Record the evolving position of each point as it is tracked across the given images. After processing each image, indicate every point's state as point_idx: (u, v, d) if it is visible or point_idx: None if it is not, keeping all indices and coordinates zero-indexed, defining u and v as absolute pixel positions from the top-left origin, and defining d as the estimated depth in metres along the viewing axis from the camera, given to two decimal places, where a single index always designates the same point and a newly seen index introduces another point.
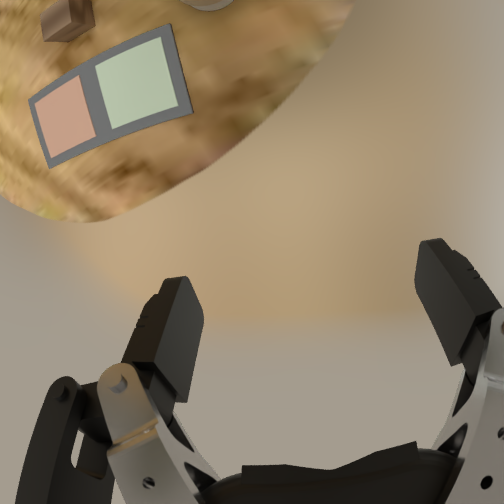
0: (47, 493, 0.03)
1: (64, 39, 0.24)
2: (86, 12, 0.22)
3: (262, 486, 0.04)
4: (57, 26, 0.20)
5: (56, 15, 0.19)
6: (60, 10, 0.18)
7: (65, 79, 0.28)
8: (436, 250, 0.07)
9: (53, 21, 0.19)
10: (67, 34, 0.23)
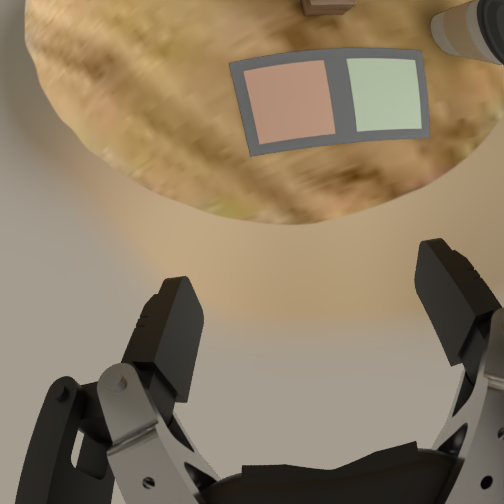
0: (47, 493, 0.03)
1: (311, 12, 0.24)
2: None
3: (262, 486, 0.04)
4: None
5: None
6: None
7: (301, 57, 0.28)
8: (436, 250, 0.07)
9: None
10: (324, 10, 0.23)
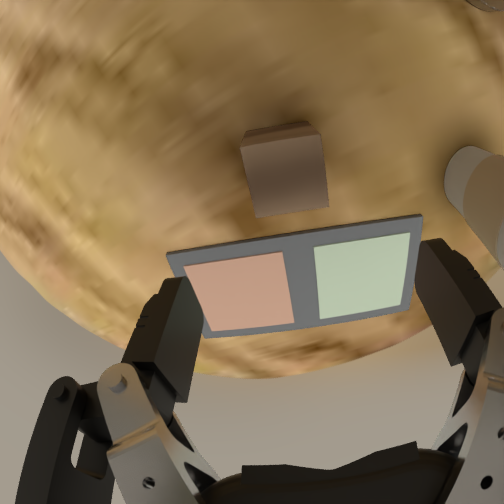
0: (47, 493, 0.03)
1: None
2: None
3: (262, 486, 0.04)
4: (295, 201, 0.19)
5: (291, 174, 0.18)
6: (302, 167, 0.17)
7: (253, 249, 0.27)
8: (436, 250, 0.07)
9: (282, 184, 0.18)
10: None
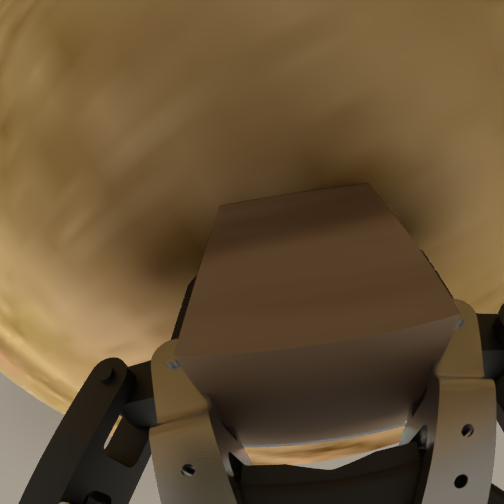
0: (69, 477, 0.04)
1: None
2: None
3: (262, 486, 0.04)
4: (335, 430, 0.06)
5: (340, 403, 0.05)
6: (375, 389, 0.05)
7: None
8: None
9: (310, 416, 0.06)
10: None
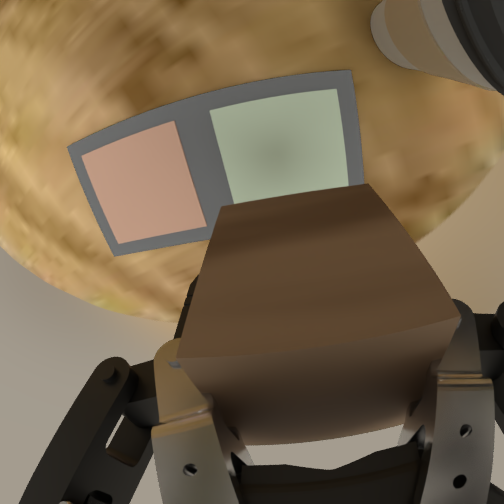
0: (71, 477, 0.04)
1: None
2: None
3: (262, 486, 0.04)
4: (335, 430, 0.06)
5: (341, 404, 0.05)
6: (376, 390, 0.05)
7: (144, 123, 0.21)
8: None
9: (311, 417, 0.06)
10: None
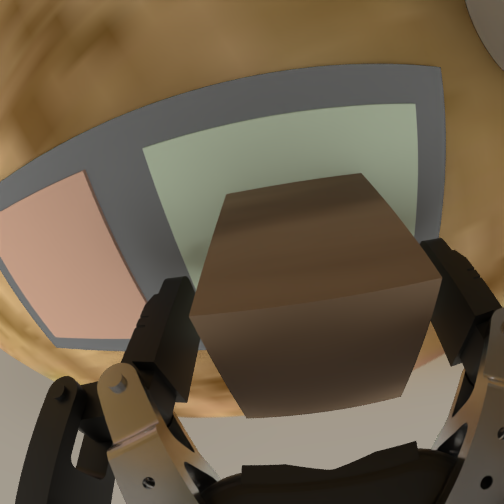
0: (47, 493, 0.03)
1: None
2: None
3: (262, 486, 0.04)
4: (334, 400, 0.07)
5: (338, 367, 0.06)
6: (370, 353, 0.06)
7: (42, 175, 0.10)
8: (436, 250, 0.07)
9: (311, 382, 0.07)
10: None
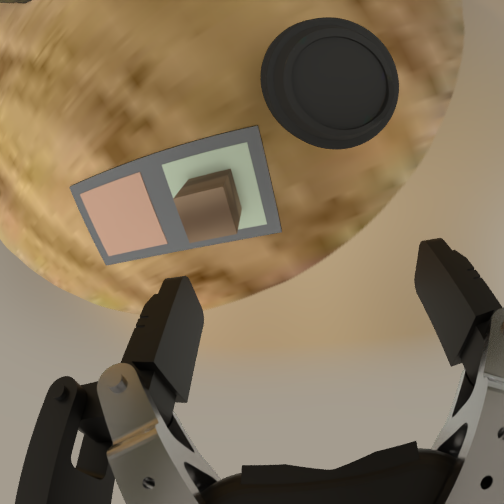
0: (47, 493, 0.03)
1: None
2: (235, 196, 0.30)
3: (262, 486, 0.04)
4: (213, 231, 0.28)
5: (208, 214, 0.27)
6: (214, 209, 0.27)
7: (120, 173, 0.31)
8: (436, 250, 0.07)
9: (203, 220, 0.27)
10: None
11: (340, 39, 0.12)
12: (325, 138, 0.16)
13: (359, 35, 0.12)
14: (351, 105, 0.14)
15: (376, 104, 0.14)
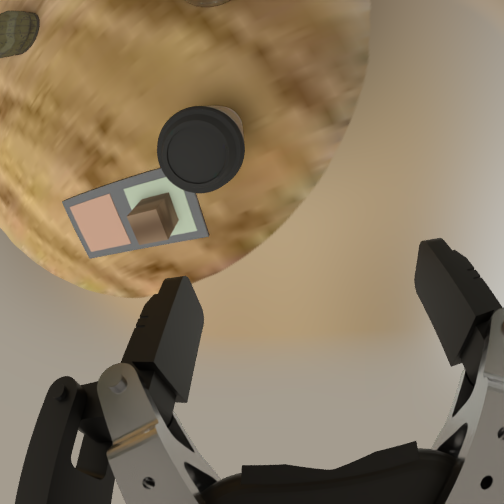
0: (47, 493, 0.03)
1: None
2: (170, 212, 0.42)
3: (262, 486, 0.04)
4: (153, 237, 0.40)
5: (148, 226, 0.39)
6: (152, 223, 0.39)
7: (96, 194, 0.43)
8: (436, 250, 0.07)
9: (146, 230, 0.39)
10: None
11: (194, 126, 0.24)
12: (193, 187, 0.28)
13: (205, 122, 0.24)
14: (204, 168, 0.26)
15: (220, 165, 0.26)
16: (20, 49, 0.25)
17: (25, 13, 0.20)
